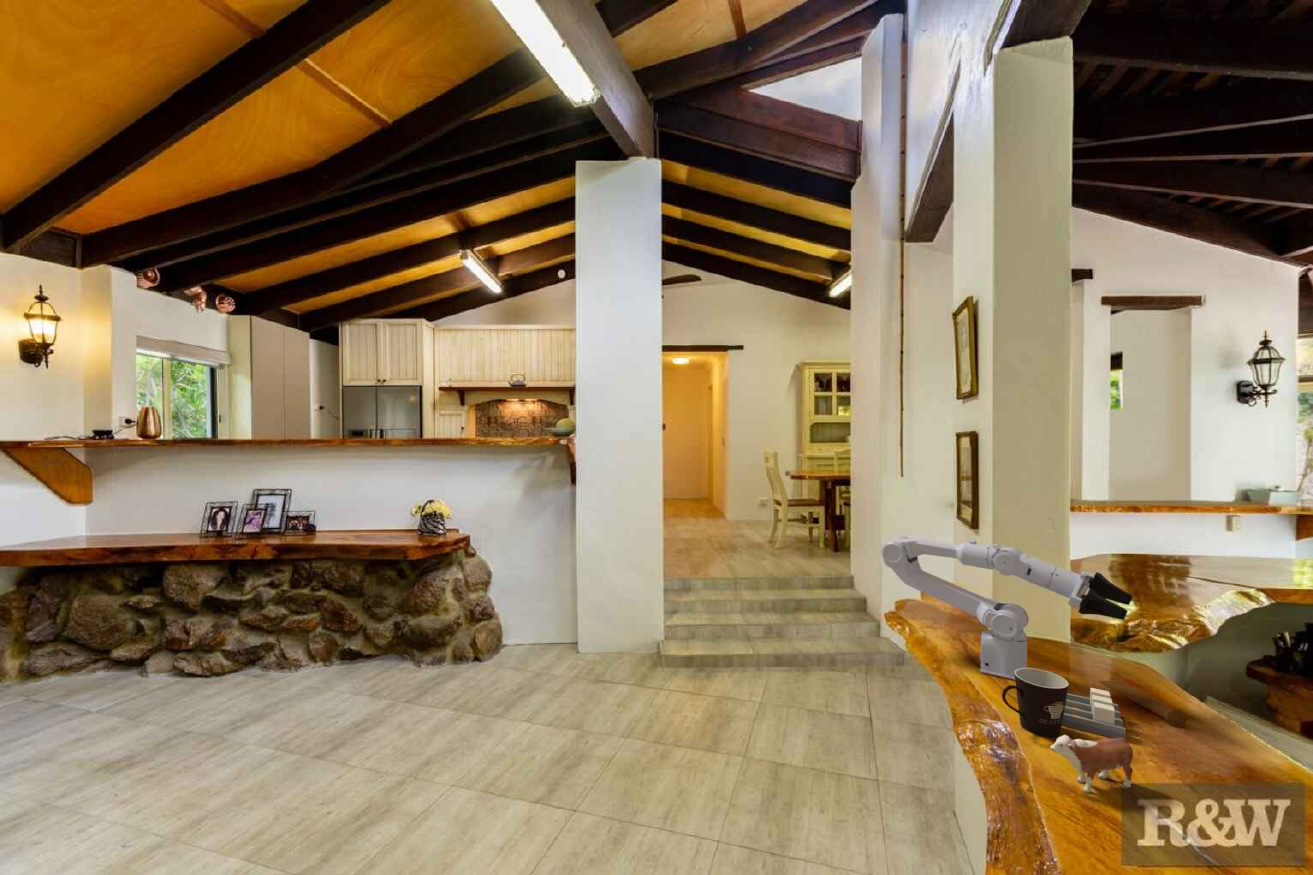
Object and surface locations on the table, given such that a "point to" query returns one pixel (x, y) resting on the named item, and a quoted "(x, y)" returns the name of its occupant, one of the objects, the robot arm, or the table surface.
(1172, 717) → the primitive tool
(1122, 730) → the switch board
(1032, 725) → the coffee mug
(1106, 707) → the tab
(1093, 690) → the tab
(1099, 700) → the tab
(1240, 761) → the table surface
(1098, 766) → the bull figurine
